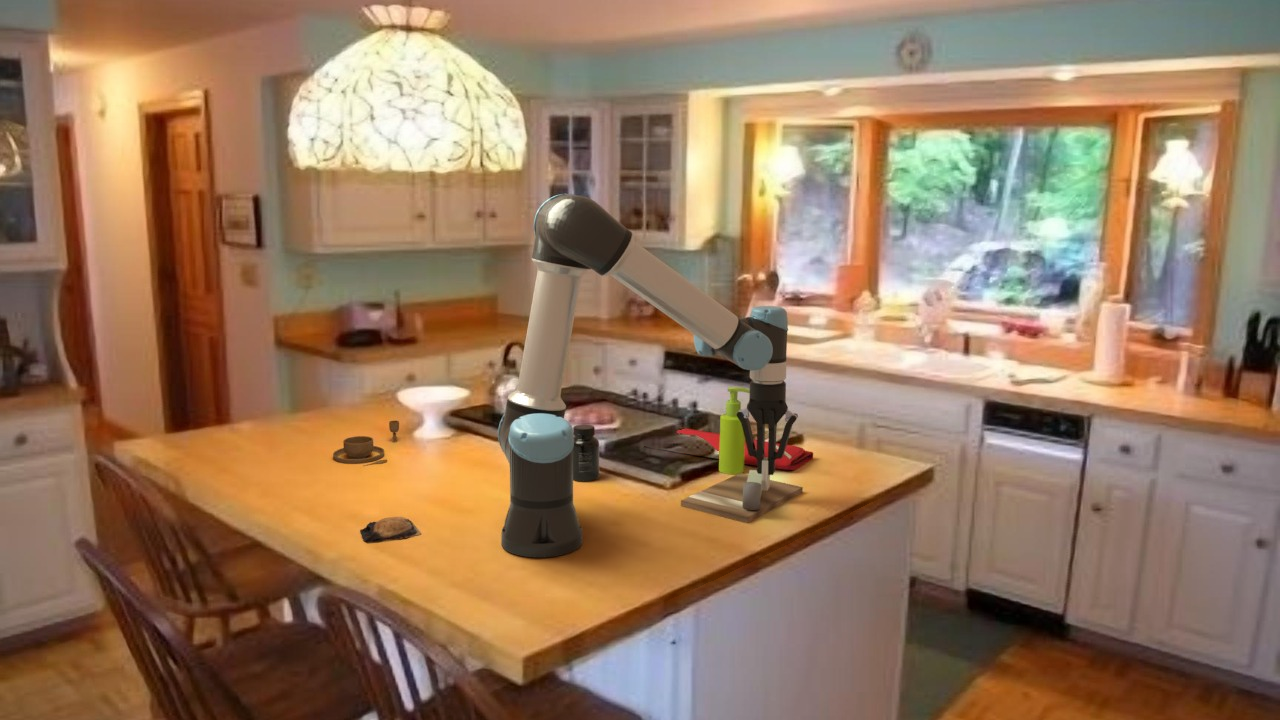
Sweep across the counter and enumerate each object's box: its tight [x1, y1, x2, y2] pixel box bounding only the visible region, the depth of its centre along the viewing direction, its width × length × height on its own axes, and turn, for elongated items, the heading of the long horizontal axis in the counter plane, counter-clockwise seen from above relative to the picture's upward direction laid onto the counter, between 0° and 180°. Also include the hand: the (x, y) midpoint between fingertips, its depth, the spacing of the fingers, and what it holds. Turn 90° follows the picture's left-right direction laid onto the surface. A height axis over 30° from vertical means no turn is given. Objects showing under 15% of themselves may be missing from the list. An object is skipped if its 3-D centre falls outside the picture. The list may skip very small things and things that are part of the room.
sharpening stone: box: [742, 469, 762, 510], centre depth 198 cm, size 16×4×5 cm, turn 169°
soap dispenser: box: [718, 386, 750, 475], centre depth 220 cm, size 6×7×20 cm
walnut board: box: [680, 473, 804, 524], centre depth 202 cm, size 24×16×1 cm, turn 143°
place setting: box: [332, 420, 400, 467], centre depth 231 cm, size 18×20×6 cm
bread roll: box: [359, 516, 422, 545], centre depth 180 cm, size 11×8×4 cm
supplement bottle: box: [572, 423, 600, 482], centre depth 214 cm, size 7×7×12 cm
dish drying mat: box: [677, 428, 814, 471], centre depth 236 cm, size 16×41×4 cm, turn 58°
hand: (765, 488), depth 201 cm, fingers closed
